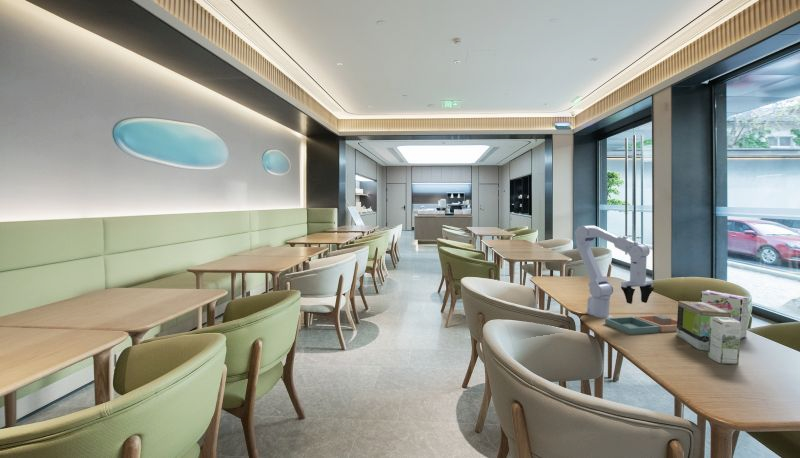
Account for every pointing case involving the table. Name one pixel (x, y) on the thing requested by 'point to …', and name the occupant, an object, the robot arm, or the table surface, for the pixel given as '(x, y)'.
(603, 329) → the table surface
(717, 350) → the syrup box
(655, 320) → the stone block
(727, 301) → the candy box
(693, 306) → the tea box
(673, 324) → the terracotta bin
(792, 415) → the table surface
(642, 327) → the slate bin
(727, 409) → the table surface
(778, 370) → the table surface
